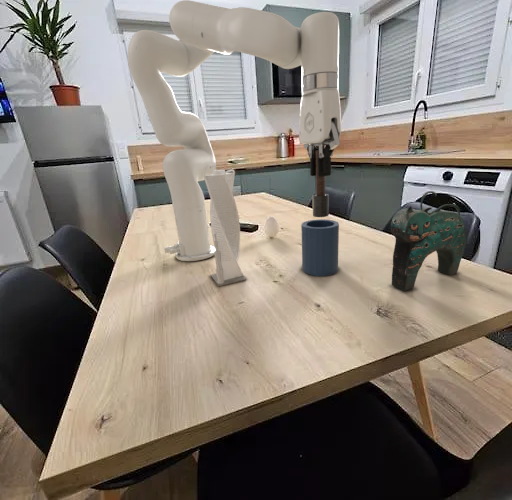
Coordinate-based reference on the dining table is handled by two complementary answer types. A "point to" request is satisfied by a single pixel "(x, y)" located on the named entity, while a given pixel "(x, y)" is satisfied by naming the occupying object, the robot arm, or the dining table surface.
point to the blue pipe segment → (320, 247)
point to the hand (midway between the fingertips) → (320, 175)
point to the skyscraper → (224, 226)
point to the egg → (271, 226)
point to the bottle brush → (320, 195)
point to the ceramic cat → (426, 242)
